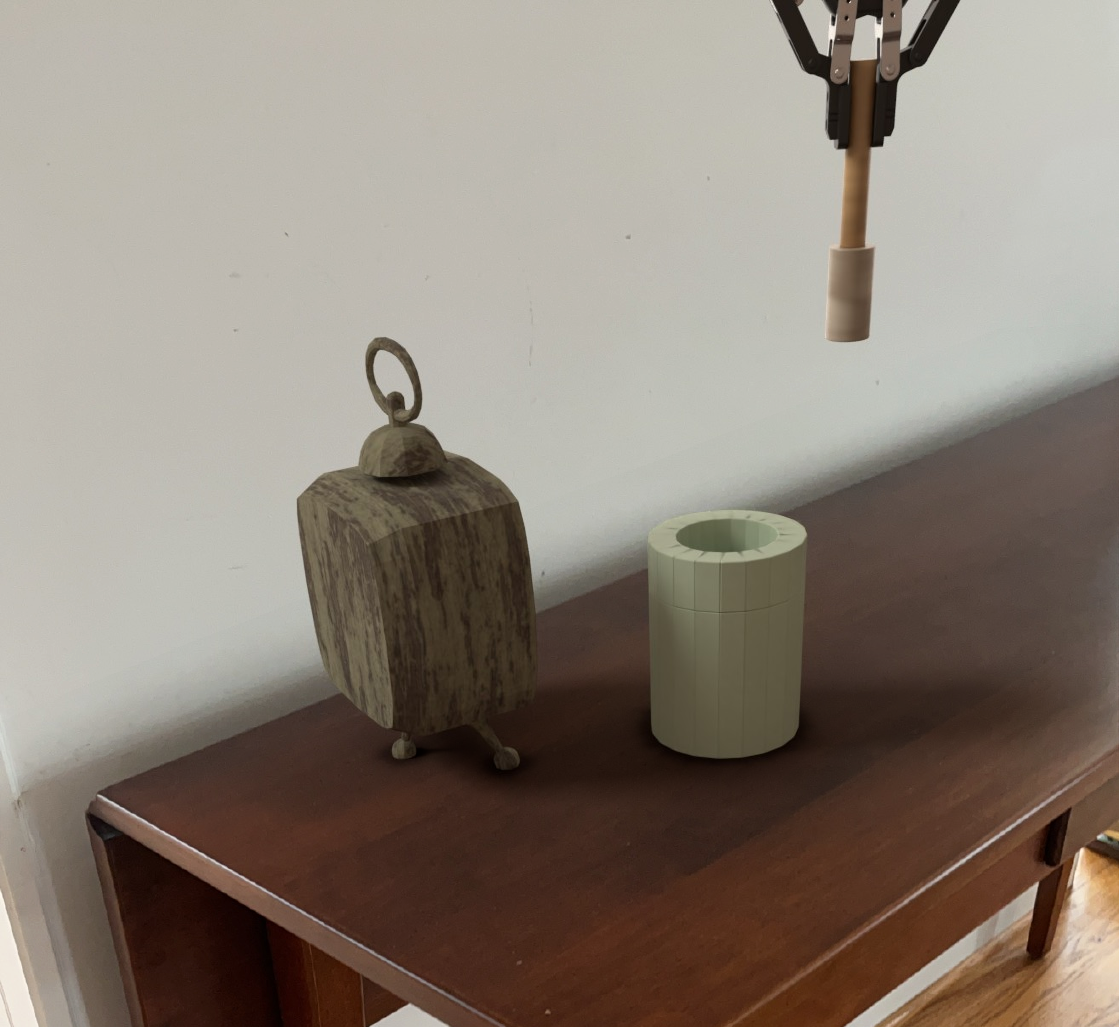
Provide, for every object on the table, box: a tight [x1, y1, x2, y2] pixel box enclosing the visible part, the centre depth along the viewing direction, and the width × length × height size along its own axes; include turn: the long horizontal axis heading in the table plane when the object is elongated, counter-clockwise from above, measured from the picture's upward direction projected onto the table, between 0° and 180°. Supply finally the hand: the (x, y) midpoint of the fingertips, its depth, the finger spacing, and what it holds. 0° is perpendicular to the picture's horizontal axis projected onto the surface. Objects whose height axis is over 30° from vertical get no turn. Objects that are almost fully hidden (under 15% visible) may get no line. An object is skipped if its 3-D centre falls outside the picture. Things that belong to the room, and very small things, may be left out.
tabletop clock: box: [296, 336, 538, 771], centre depth 85 cm, size 14×9×25 cm, turn 30°
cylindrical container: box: [647, 509, 808, 760], centre depth 89 cm, size 9×9×13 cm
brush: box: [824, 57, 877, 343], centre depth 99 cm, size 3×3×17 cm
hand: (857, 145), depth 97 cm, fingers closed on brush, 2 cm apart
